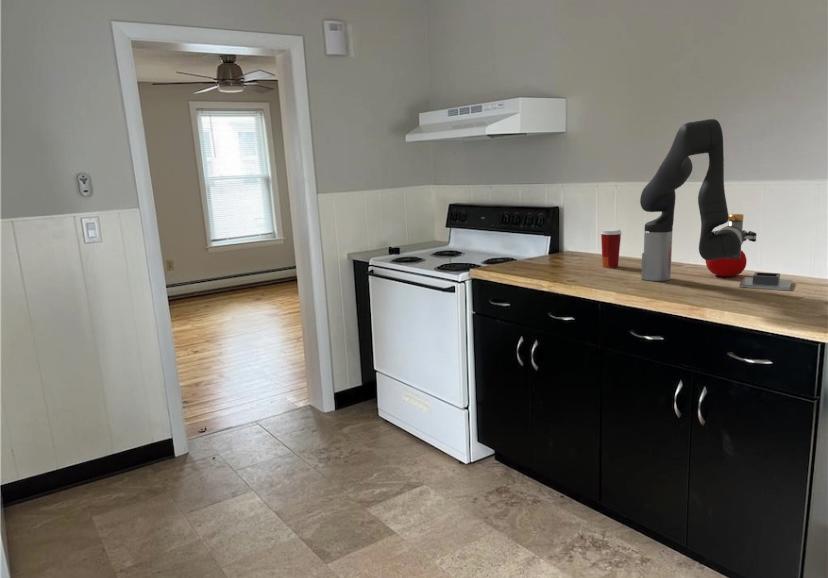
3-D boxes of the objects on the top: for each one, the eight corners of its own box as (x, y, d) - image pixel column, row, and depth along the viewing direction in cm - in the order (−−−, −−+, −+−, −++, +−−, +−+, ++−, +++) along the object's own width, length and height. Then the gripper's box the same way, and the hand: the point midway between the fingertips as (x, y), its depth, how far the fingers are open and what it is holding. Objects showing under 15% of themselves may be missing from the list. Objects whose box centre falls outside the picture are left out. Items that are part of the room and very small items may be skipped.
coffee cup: (623, 265, 249) (624, 229, 246) (617, 268, 242) (618, 231, 239) (602, 264, 253) (603, 228, 251) (596, 267, 247) (597, 230, 244)
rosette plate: (739, 287, 199) (739, 276, 198) (744, 279, 210) (745, 270, 209) (789, 290, 191) (790, 279, 190) (792, 282, 202) (793, 272, 202)
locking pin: (725, 258, 196) (728, 215, 193) (727, 256, 199) (730, 214, 197) (739, 259, 194) (742, 215, 191) (741, 257, 197) (744, 214, 194)
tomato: (750, 278, 212) (752, 247, 210) (709, 279, 214) (711, 248, 212) (739, 273, 223) (741, 243, 221) (701, 273, 226) (702, 243, 224)
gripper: (756, 227, 179) (762, 222, 193) (703, 226, 187) (712, 221, 201) (754, 252, 180) (760, 245, 194) (701, 250, 188) (711, 243, 202)
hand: (736, 233), depth 197 cm, fingers closed on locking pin, 4 cm apart
